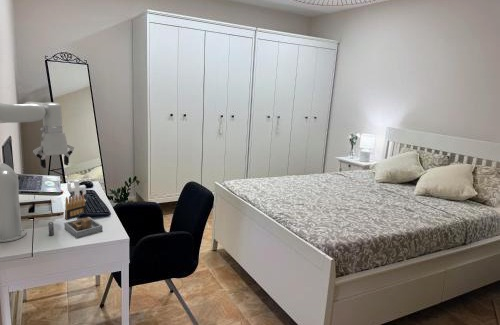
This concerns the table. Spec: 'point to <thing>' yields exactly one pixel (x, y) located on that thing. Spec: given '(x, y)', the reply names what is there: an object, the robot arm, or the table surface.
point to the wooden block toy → (82, 224)
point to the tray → (78, 234)
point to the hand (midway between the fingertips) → (55, 166)
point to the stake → (51, 228)
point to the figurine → (76, 188)
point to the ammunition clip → (74, 207)
